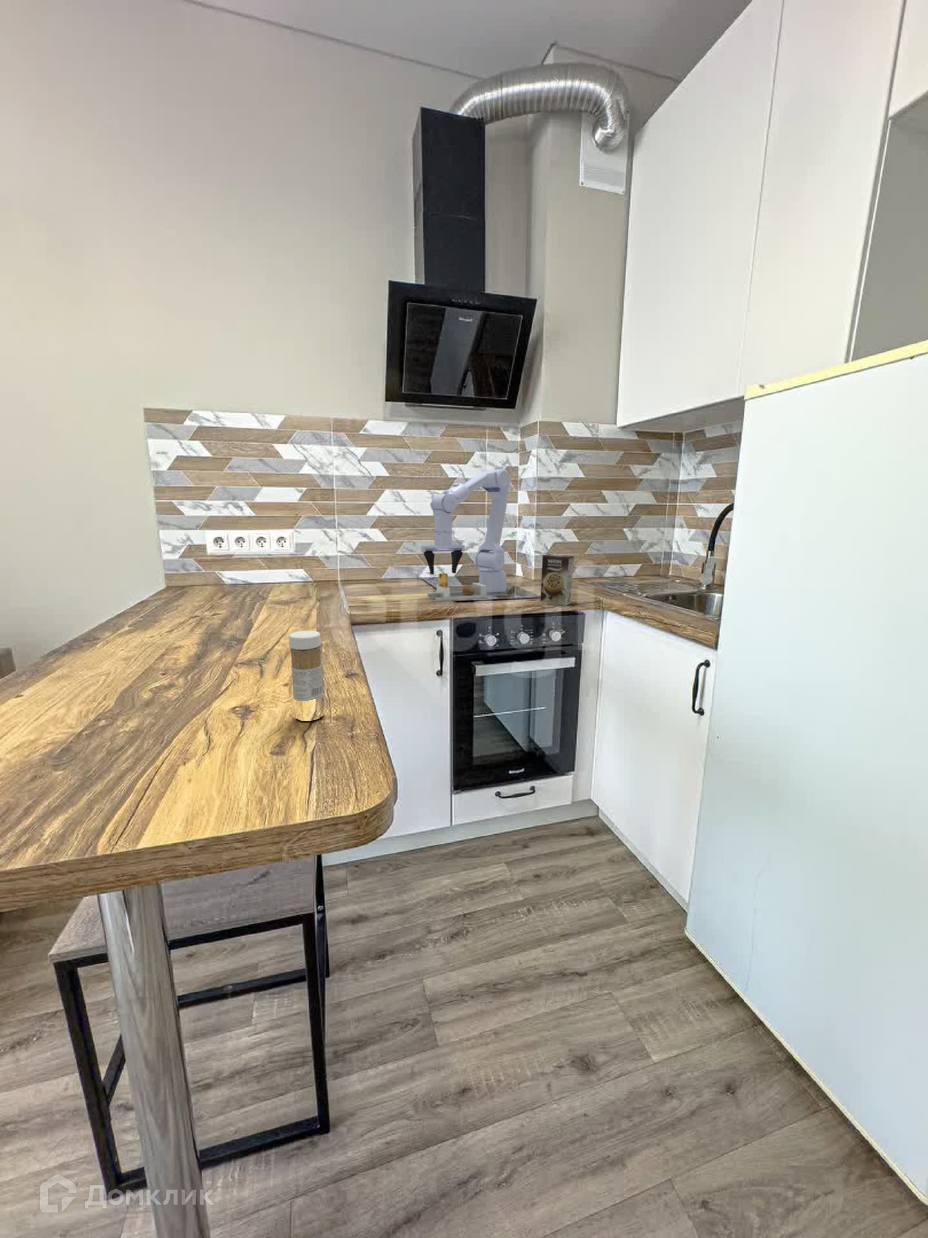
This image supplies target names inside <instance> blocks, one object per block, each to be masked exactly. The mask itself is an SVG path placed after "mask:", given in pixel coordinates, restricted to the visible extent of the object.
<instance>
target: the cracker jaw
mask: <svg viewBox="0 0 928 1238" xmlns="http://www.w3.org/2000/svg"><path fill="white" fill-rule="evenodd" d="M448 576H449V575H448V573H447V572H445V573H444V572H440V573H439V572H438V583H437V584H436V593H437V596H439V597H450V592H451V591H450V590H451V589H450V588H451V587H449V586H448V580H449V578H448Z"/></svg>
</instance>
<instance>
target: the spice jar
mask: <svg viewBox="0 0 928 1238" xmlns="http://www.w3.org/2000/svg"><path fill="white" fill-rule="evenodd" d="M321 645H322V639H321V633H320V632H318V631H316V630H299V631H295V632H291V633H290V634H289V635H288V647H289V650H290V656H291V657H290V659H291V679H292V681H291V682H292V696H293V700H294V699H295V700H297V701H309V700H313V699H318V698H321V697H322V696H323V697H324V689H323V688H324V687H323V669H322V668H323V666H322V660H321V658H322V657H321Z"/></svg>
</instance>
